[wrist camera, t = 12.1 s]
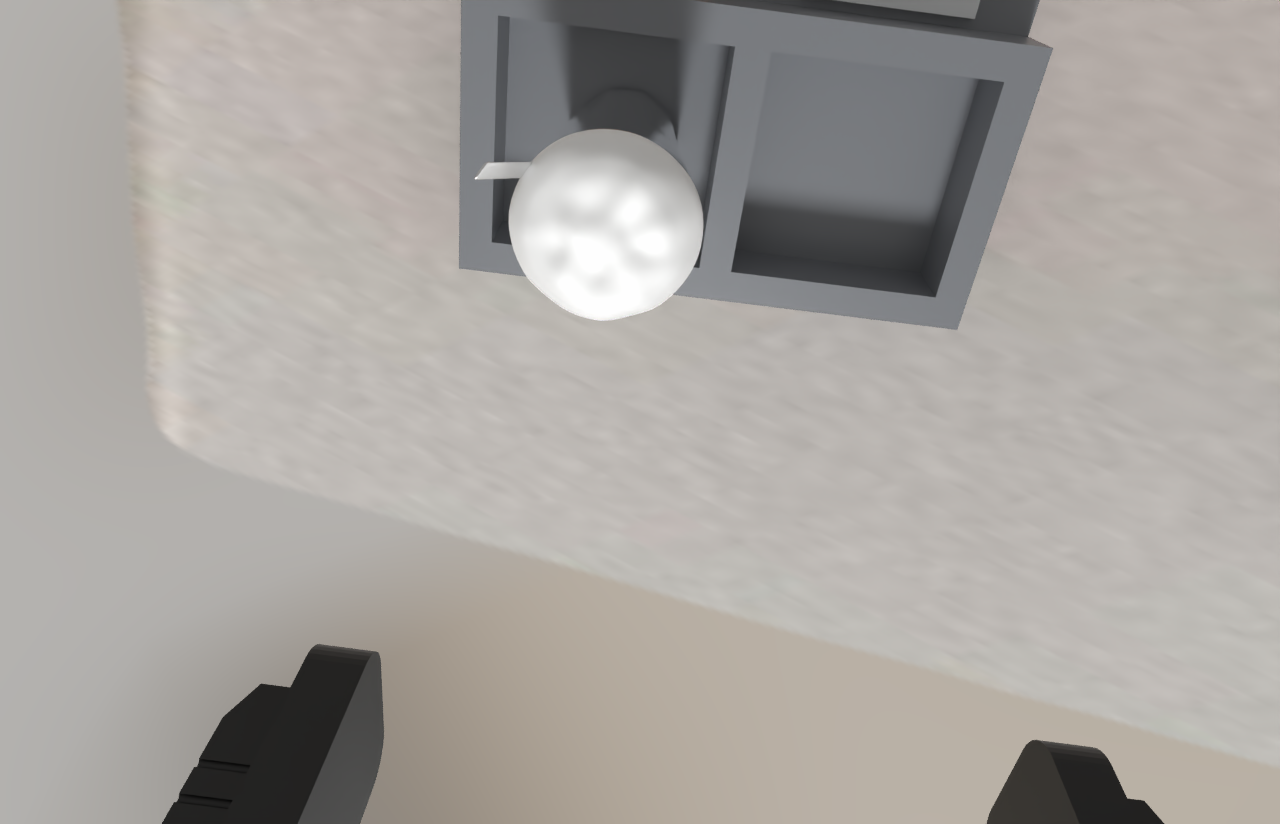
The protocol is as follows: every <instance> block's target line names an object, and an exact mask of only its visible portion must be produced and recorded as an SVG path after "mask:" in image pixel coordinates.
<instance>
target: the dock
mask: <svg viewBox="0 0 1280 824" xmlns="http://www.w3.org/2000/svg"><path fill="white" fill-rule="evenodd" d="M1039 1H1040V0H461V104H460V221H459V268H461V269H469V270H477V271H485V272H493V273H501V274H509V275H517V276H525V277H527V276H526V275H525V273H524V272H523V270H522V268H521V266H520V264H519V262H518V260H517V258H516V255H515V253H514V250H513V246H512V243H511V238H510V232H509V208H510V203H511V199H512V196H513V193H514V190H515V187H516V185H517V183H518V181H519V179H520V178H511V179H487V180H475V179H474V178H475V176H476V174H477V173H478V171H479V170H480V168H481V167H482V166H483V164H484V163H486V162H527V161H532V160H533V159H534V158H535V157H536V156H537V155H538V154H539V153H540V152H541V151H542V150H543V149H544V148H545V147H546V146H548V145H549V144H550V143H551V142H552V141H553V140H554V139H555V138H556V137H557V136H558V134H559V133H560V132H561V131H562V130H563V128H564V127H565V126H566V125H567V124H568V123H569V121H570V120H571V119H572V118H573V117H574V116H575V114H576V113H577V112H578V111H579V110H580V109H581V108H582V107H583V106H584V105H586V104H587V103H589V102H590V101H592V100H593V99H595V98H596V97H598V96H599V95H601V94H602V93H603V92H605V91H606V90H608V89H625V90H643V91H644V92H645V93H646V94H648V95H649V96H650V97H651V98H652V99H653V100H655V101H656V102H657V103H658V104H659V105H661V106H662V107H663V108H664V109H665V110H666V111H668V112H669V114H670V118H671V121H672V125H673V129H674V132H675V136H676V140H677V143H678V147H679V150H680V153H681V155H682V158H683V160H684V162H685V165H686V167H687V170H688V172H689V174H690V177H691V179H692V182H693V183H694V185H695V187H696V190H697V192H698V195H699V198H700V201H701V205H702V211H703V237H702V243H701V248H700V252H699V255H698V258H697V260H696V263H695V265H694V267H693V269H692V271H691V273H690V274H689V276H688V277H687V279H686V280H685V281H684V283H683V284H682V285H681V286H680V288H679V289H678V290H677V291H676V292H675V293H674V294H673V295H679V296H688V297H696V298H704V299H712V300H720V301H728V302H736V303H744V304H752V305H761V306H769V307H777V308H785V309H793V310H801V311H809V312H817V313H825V314H834V315H842V316H850V317H858V318H866V319H874V320H882V321H890V322H898V323H906V324H915V325H923V326H931V327H939V328H947V329H955V330H957V329H958V326H959V323H960V320H961V317H962V314H963V311H964V308H965V305H966V302H967V299H968V296H969V293H970V291H971V288H972V285H973V282H974V279H975V276H976V273H977V270H978V267H979V264H980V261H981V258H982V255H983V252H984V249H985V247H986V244H987V241H988V238H989V235H990V232H991V229H992V226H993V223H994V220H995V217H996V214H997V211H998V208H999V205H1000V203H1001V200H1002V197H1003V194H1004V191H1005V188H1006V185H1007V182H1008V179H1009V176H1010V173H1011V170H1012V167H1013V164H1014V161H1015V159H1016V156H1017V153H1018V150H1019V147H1020V144H1021V141H1022V138H1023V135H1024V132H1025V129H1026V126H1027V123H1028V120H1029V117H1030V115H1031V112H1032V109H1033V106H1034V103H1035V100H1036V97H1037V94H1038V91H1039V88H1040V85H1041V82H1042V79H1043V76H1044V73H1045V71H1046V68H1047V65H1048V62H1049V59H1050V56H1051V53H1052V50H1053V48H1051V47H1049V46H1047V45H1045V44H1043V43H1040V42H1038V41H1036V40H1034V39H1032V38H1029V37H1028V35H1029V32H1030V29H1031V26H1032V23H1033V20H1034V16H1035V13H1036V10H1037V7H1038V4H1039Z"/></svg>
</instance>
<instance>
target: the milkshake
mask: <svg viewBox="0 0 1280 824" xmlns="http://www.w3.org/2000/svg"><path fill="white" fill-rule="evenodd" d="M511 178H520V179H519V181H518V183H517V185H516V187H515V190H514V193H513V196H512V199H511V203H510V208H509V232H510V238H511V243H512V246H513V250H514V253H515V255H516V258H517V260H518V262H519V264H520V266H521V268H522V270H523V272H524V273H525V275H526V276H527V278H528V279H529V280H530V281H531V282H532V283H533V285H535V286H536V287H537V288H538V289H539V290H540V291H541V292H542V293H543V294H544V295H546V296H547V297H548V298H549V299H551V300H552V301H553V302H554V303H556V304H557V305H559V306H560V307H562V308H563V309H565V310H567V311H569V312H571V313H573V314H575V315H578V316H581V317H584V318H588V319H592V320H600V321H606V320H615V319H619V318H624V317H628V316H631V315H635V314H639V313H643V312H646V311H649V310H651V309H654V308H656V307H657V306H659V305H661V304H662V303H663V302H665V301H666V300H667V299H668V298H669V297H671V296H672V295H673V294H674V293H675V292H676V291H677V290H678V289H679V288H680V286H681V285H682V284H683V283H684V281H685V280H686V279H687V277H688V276H689V274H690V273H691V271H692V269H693V267H694V265H695V263H696V260H697V258H698V255H699V252H700V248H701V243H702V237H703V211H702V205H701V201H700V198H699V195H698V192H697V190H696V187H695V185H694V183H693V182H692V179H691V177H690V174H689V172H688V170H687V167H686V165H685V162H684V160H683V158H682V155H681V153H680V150H679V147H678V143H677V140H676V136H675V132H674V129H673V125H672V121H671V118H670V114H669V112H668V111H666V110H665V109H664V108H663V107H662V106H661V105H659V104H658V103H657V102H656V101H655V100H653V99H652V98H651V97H650V96H649V95H648V94H646V93H645V92H644V91H643V90H625V89H608V90H606V91H605V92H603V93H602V94H601V95H599V96H598V97H596V98H595V99H593V100H592V101H590V102H589V103H587V104H586V105H584V106H583V107H582V108H581V109H580V110H579V111H578V112H577V113H576V114H575V116H574V117H573V118H572V119H571V120H570V121H569V123H568V124H567V125H566V126H565V127H564V128H563V130H562V131H561V132H560V133H559V134H558V136H557V137H556V138H555V139H554V140H553V141H552V142H551V143H550V144H549V145H548V146H546V147H545V148H544V149H543V150H542V151H541V152H540V153H539V154H538V155H537V156H536V157H535V158H534V159H533V160H532V161H527V162H486V163H484V164H483V166H482V167H481V168H480V170H479V171H478V173H477V174H476V176H475V178H474V179H475V180H487V179H511Z"/></svg>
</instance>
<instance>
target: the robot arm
mask: <svg viewBox="0 0 1280 824" xmlns="http://www.w3.org/2000/svg"><path fill="white" fill-rule="evenodd" d="M383 739H384V724H383V701H382V679H381V660H380V656H379V653H378V652H374V651H367V650H359V649H352V648H344V647H336V646H328V645H321V644H317V645H315V646H314V647H313V648H312V649H311V650H310V651H309V653H308V655H307V656H306V658H305V660H304V662H303V664H302V666H301V668H300V670H299V672H298V674H297V676H296V678H295V680H294V682H293V684H292V685H291V687H290V688H289V687H282V686H274V685H267V684H260V685H259V686H258V687H257V688H256V689H255V690H253V691H252V692H251V693H250V694H249V695H248V696H247V697H246V698H244V699H243V700H242V701H241V702H240V703H239V704H237V705H236V706H235V707H234V708H233V709H232V710H231V711H230V712H228V713H227V714H226V715H225V716H224V717H223V718H222V720H221V722H220V723H219V725H218V727H217V729H216V731H215V732H214V734H213V735H212V737H211V739H210V741H209V742H208V744H207V746H206V748H205V750H204V751H203V753H202V755H201V756H200V758H199V764H198V766H197V767H194V769H193V770H192V772H191V774H190V775H189V777H188V779H187V781H186V783H185V784H184V786H183V788H182V789H181V791H180V793H179V799H178V801H177V802H174V803H173V805H172V807H171V808H170V810H169V812H168V814H167V815H166V817H165V819H164V821H163V822H162V824H360V822H361V819H362V817H363V814H364V811H365V808H366V806H367V803H368V800H369V797H370V795H371V792H372V789H373V786H374V783H375V780H376V777H377V773H378V769H379V765H380V759H381V755H382V748H383ZM987 824H1164V823H1163V822H1162V821H1161V819H1160V818H1159V817H1158V816H1157V815H1156V814H1155V813H1154V812H1153V810H1152V809H1151V808H1150V807H1149V806H1148V805H1147V804H1146V803H1145V801H1142V800H1134V799H1127V797H1126V795H1125V793H1124V791H1123V789H1122V786H1121V784H1120V782H1119V780H1118V778H1117V776H1116V774H1115V772H1114V770H1113V767H1112V765H1111V763H1110V762H1109V760H1108V758H1107V757H1106V756H1105V754H1103V753H1102V752H1101V751H1100V750H1098V749H1097V748H1093V747H1085V746H1078V745H1070V744H1063V743H1055V742H1047V741H1039V740H1032V741H1030V742H1029V743H1028V744H1027V745H1026V746H1025V748H1024V749H1023V751H1022V753H1021V755H1020V757H1019V759H1018V760H1017V763H1016V764H1015V766H1014V768H1013V770H1012V772H1011V774H1010V775H1009V777H1008V779H1007V781H1006V783H1005V785H1004V787H1003V789H1002V791H1001V793H1000V794H999V796H998V798H997V800H996V802H995V804H994V806H993V807H992V809H991V811H990V814H989V817H988V820H987Z"/></svg>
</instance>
